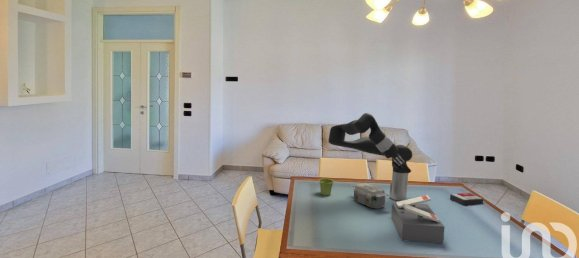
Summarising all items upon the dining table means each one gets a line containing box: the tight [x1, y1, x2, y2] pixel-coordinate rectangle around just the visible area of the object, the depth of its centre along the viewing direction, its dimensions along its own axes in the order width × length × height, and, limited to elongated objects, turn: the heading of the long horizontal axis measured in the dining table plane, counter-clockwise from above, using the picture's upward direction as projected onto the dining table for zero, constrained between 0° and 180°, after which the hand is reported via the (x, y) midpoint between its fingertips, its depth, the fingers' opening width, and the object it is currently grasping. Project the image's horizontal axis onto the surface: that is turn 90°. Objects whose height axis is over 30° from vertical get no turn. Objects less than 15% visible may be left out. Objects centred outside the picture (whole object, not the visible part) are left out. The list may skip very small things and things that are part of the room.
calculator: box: [449, 192, 484, 207], centre depth 209 cm, size 11×4×15 cm
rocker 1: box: [395, 194, 432, 208], centre depth 174 cm, size 6×16×1 cm, turn 83°
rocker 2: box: [403, 203, 441, 222], centre depth 159 cm, size 6×16×1 cm, turn 83°
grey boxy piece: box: [349, 183, 390, 209], centre depth 201 cm, size 12×28×10 cm, turn 22°
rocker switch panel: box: [390, 201, 446, 244], centre depth 167 cm, size 28×18×10 cm, turn 173°
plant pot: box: [318, 178, 334, 196], centre depth 216 cm, size 9×9×9 cm
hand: (409, 172), depth 172 cm, fingers closed
